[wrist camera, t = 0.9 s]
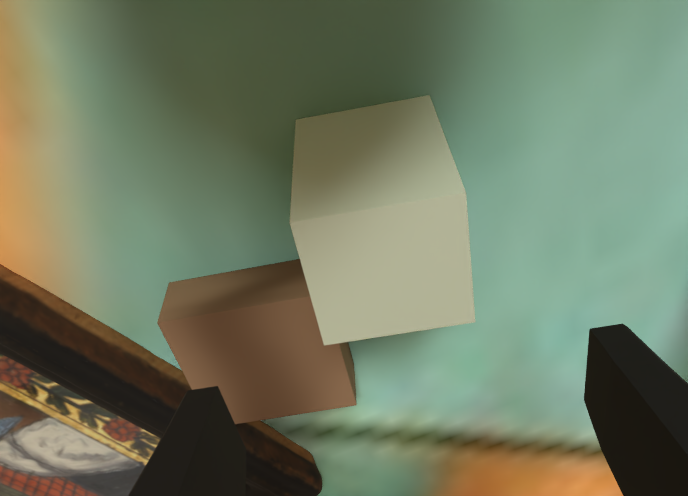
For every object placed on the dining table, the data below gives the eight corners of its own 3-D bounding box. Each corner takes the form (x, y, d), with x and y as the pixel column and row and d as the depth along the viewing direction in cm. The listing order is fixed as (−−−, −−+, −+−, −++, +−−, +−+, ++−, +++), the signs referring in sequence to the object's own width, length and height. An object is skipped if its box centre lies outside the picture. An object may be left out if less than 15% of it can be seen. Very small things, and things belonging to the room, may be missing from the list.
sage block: (429, 94, 18) (466, 192, 14) (440, 207, 21) (475, 321, 16) (295, 119, 19) (289, 222, 14) (322, 227, 21) (324, 345, 16)
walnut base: (324, 248, 22) (324, 293, 20) (353, 357, 25) (356, 405, 23) (170, 276, 22) (157, 322, 20) (219, 379, 26) (211, 427, 24)
